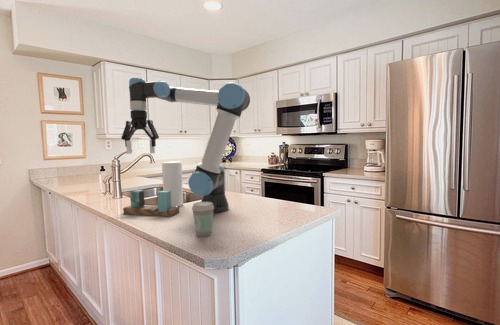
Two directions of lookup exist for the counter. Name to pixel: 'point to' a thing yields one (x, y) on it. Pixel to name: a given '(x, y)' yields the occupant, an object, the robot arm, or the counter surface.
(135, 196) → the rail
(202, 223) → the coffee cup
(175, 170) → the tall pillar cylinder
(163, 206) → the block
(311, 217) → the counter surface
